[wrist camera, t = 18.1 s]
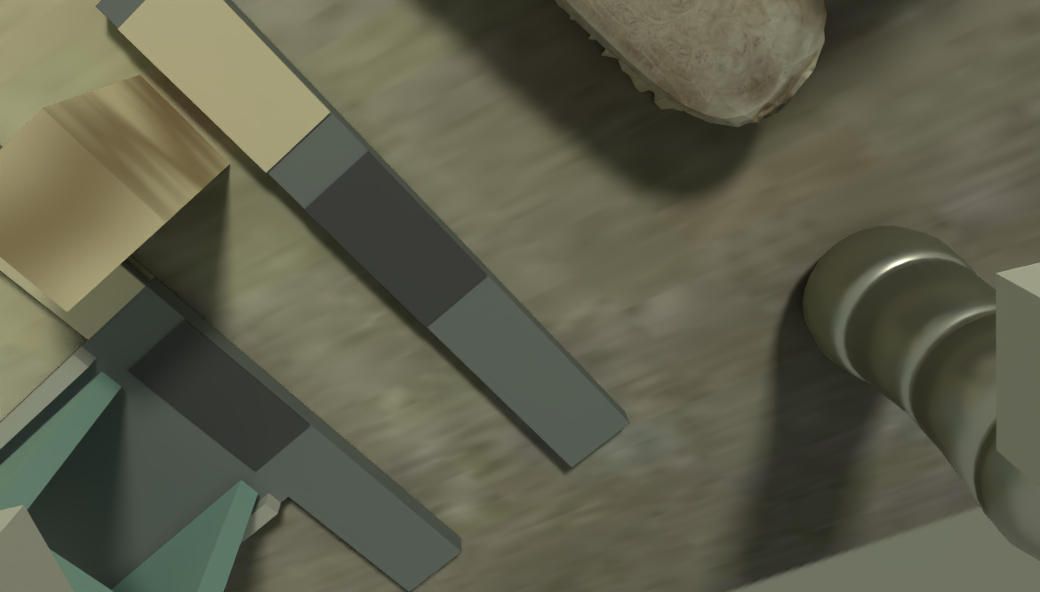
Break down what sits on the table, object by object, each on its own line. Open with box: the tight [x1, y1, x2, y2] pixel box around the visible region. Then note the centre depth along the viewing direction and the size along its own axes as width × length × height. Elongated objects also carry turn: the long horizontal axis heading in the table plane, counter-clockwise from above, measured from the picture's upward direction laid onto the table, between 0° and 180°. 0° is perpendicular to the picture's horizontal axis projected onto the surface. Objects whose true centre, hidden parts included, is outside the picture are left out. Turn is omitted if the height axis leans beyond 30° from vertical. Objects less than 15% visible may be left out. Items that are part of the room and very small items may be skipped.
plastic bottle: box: [803, 226, 1040, 560], centre depth 27 cm, size 6×7×20 cm
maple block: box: [0, 75, 230, 312], centre depth 27 cm, size 4×4×8 cm
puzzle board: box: [0, 0, 629, 592], centre depth 35 cm, size 27×26×2 cm
